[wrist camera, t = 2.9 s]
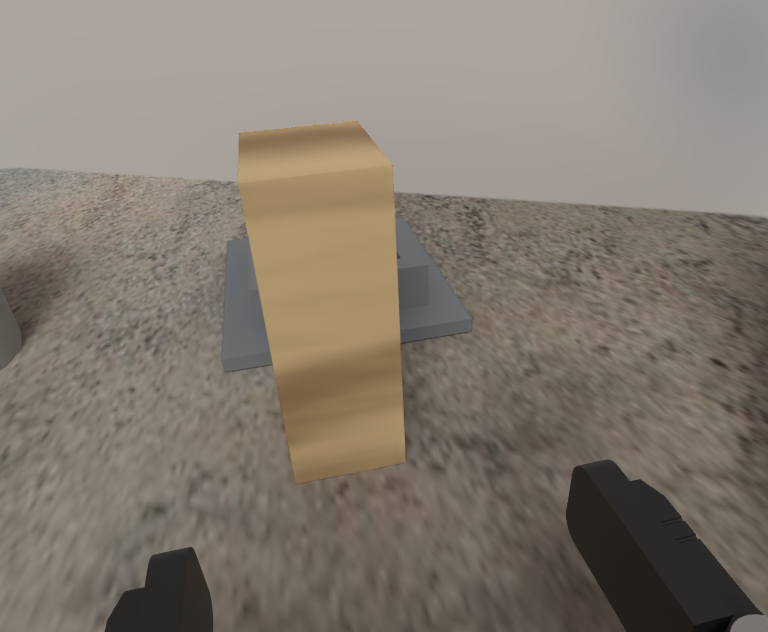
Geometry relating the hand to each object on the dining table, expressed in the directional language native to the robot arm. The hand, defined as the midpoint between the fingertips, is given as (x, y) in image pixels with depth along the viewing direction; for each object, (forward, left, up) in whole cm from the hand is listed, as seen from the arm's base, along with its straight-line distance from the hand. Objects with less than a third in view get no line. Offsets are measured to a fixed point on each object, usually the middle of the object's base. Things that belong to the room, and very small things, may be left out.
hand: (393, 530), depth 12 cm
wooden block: (-8, +8, -7) cm, 13 cm away
